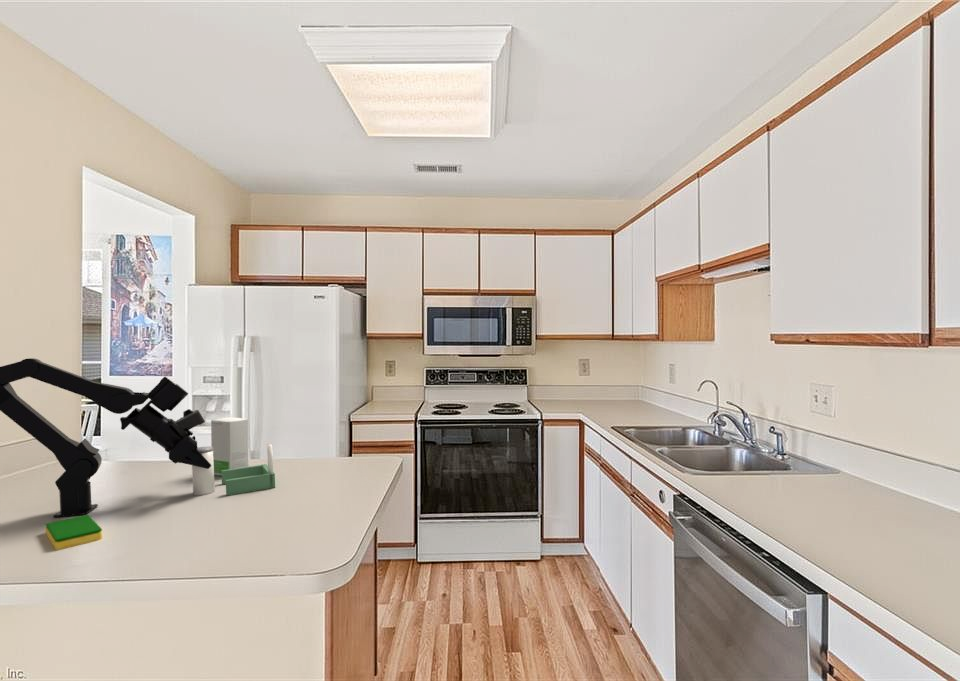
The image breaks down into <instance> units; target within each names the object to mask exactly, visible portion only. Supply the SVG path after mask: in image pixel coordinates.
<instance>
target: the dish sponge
mask: <svg viewBox="0 0 960 681" xmlns="http://www.w3.org/2000/svg"><path fill="white" fill-rule="evenodd" d="M102 530H103V528H101V527H100V525H98V523H97V522H96V521H95V520H94V519H93V518H92V516H90V515H89V514H83V515H78V516H76V517H72V518H71V517H70V518H66V519H61V520H56V521H52V522H48V523H45V534H46V536H47V537H48V539H49V541H50V542H51V544H52V546H53V548H54V549H55V550H56V551H57V550H63V549H66V548H71V547H75V546H79V545H83V544H88V543H92V542H97V541H101V540H102V539H103V532H102Z"/></svg>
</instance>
